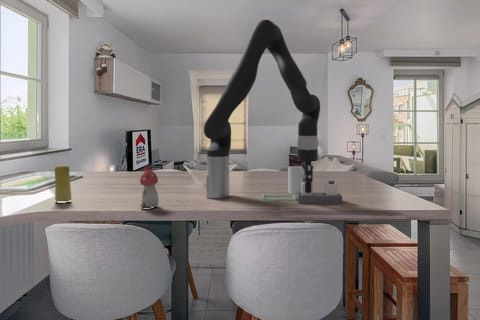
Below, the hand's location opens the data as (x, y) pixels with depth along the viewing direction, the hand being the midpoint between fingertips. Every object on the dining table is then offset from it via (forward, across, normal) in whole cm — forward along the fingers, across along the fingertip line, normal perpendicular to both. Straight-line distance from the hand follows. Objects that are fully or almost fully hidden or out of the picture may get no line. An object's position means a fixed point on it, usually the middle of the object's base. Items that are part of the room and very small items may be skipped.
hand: (307, 190), depth 149 cm
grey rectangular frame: (+5, 0, +4) cm, 7 cm away
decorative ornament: (+6, +8, -58) cm, 59 cm away
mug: (+6, -22, -2) cm, 23 cm away
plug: (+4, 0, 0) cm, 4 cm away
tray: (+5, -7, -10) cm, 14 cm away
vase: (+6, 0, -96) cm, 96 cm away
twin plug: (+4, 0, +9) cm, 10 cm away
